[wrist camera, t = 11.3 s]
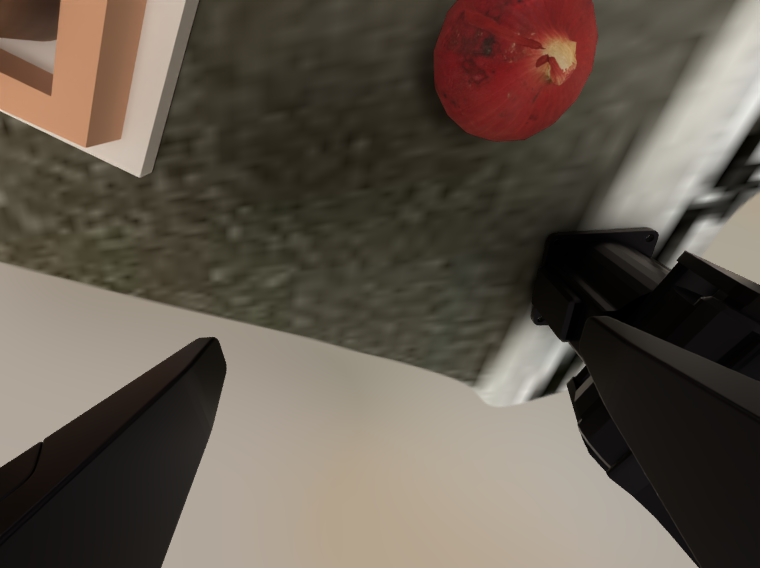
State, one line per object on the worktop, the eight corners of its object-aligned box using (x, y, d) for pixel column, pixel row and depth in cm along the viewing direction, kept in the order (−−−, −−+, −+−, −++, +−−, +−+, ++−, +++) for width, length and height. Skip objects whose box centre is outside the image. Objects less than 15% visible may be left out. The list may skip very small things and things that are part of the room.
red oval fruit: (404, 107, 18) (429, 125, 11) (450, -36, 15) (520, -129, 8) (508, 144, 19) (589, 182, 12) (567, 16, 16) (715, -28, 10)
